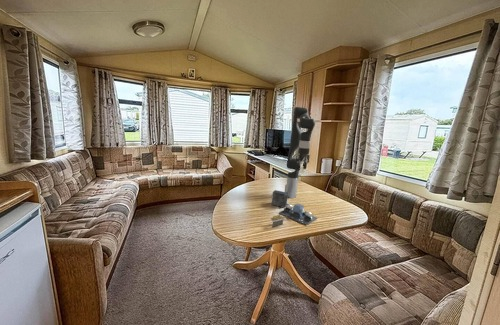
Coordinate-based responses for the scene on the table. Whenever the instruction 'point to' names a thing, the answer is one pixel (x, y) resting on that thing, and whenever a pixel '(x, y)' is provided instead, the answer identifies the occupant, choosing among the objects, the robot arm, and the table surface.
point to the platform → (277, 220)
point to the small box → (279, 198)
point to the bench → (303, 219)
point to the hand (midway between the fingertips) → (301, 169)
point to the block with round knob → (298, 209)
